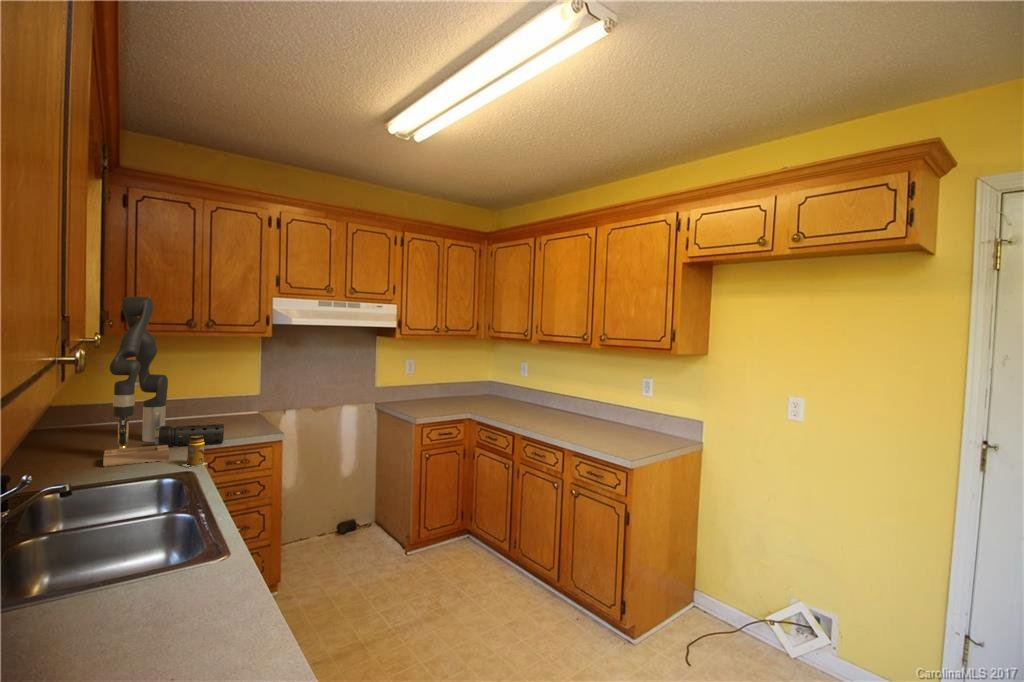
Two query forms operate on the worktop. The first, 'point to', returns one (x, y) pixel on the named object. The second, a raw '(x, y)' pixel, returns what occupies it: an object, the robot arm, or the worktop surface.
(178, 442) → the muzzle brake
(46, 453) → the worktop surface
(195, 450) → the condiment
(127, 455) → the keyhole board
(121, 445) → the brass peg
